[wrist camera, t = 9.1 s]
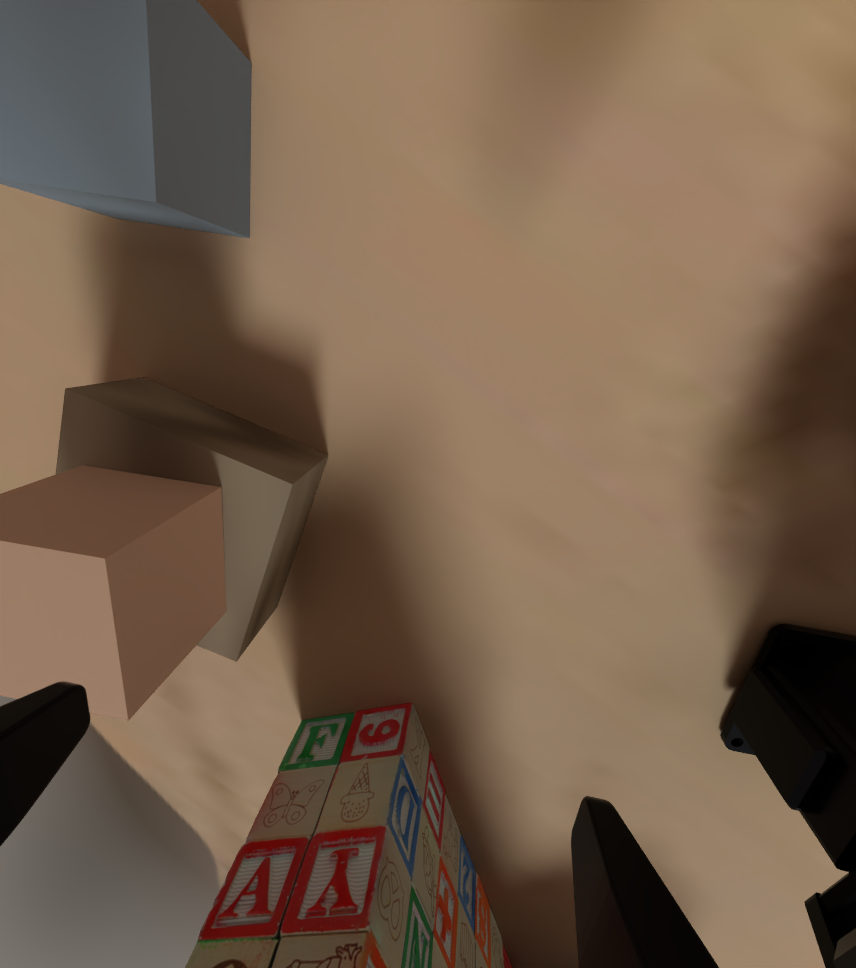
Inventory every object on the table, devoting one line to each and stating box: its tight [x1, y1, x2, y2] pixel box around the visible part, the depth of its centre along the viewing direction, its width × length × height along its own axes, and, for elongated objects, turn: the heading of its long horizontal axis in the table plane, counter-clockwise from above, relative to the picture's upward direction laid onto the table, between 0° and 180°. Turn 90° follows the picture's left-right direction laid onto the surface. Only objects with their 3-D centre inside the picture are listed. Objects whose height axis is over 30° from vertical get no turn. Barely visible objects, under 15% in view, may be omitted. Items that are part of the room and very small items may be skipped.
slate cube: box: [0, 0, 252, 238], centre depth 13 cm, size 5×5×5 cm
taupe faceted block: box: [56, 377, 328, 662], centre depth 18 cm, size 8×8×4 cm
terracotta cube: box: [0, 465, 227, 721], centre depth 14 cm, size 5×5×5 cm
